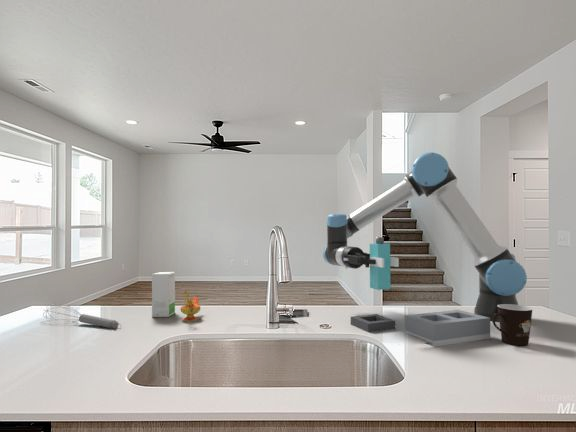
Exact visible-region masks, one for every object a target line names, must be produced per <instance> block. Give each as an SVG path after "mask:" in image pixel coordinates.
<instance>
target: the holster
mask: <svg viewBox="0 0 576 432" xmlns="http://www.w3.org/2000/svg"><path fill="white" fill-rule="evenodd" d="M350 325H351V326H352V327H353V326H354V327H355V328H358V329H360V330H362V331H364V332H366V333H372V332H373V333H374V332H375V333H376V332H381V331H390V330H391V331H392V330H396V320H394V319H391V318H389V317H386V316H383V315H380V314H378V313H374V314H365V315H364V314H362V315H354V316H350Z"/></svg>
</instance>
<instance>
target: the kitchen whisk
mask: <svg viewBox="0 0 576 432" xmlns="http://www.w3.org/2000/svg"><path fill="white" fill-rule="evenodd" d="M57 304H60V305H63V306H60V305H57ZM54 305H55V307H52V308H50V307H49V306H54ZM64 306H67V307H64ZM57 307H58V308H62V309H65V310H67V311H69V312H72V313H74V314H76V315H79V316H75V315H70V314H66V313H61V312H56V311H51V310H52V309H54V308H55V309H56V308H57ZM49 312H51V313H56V314H58V315H64V316H69V317H74V318H72V319H62V318H61V319H60V318H56V319H57V320H56V321H59V320H60V321H61V320H63V321H73V323H74V322H80V323H84V324H87V325H88V324H89V325H91V326H92V325H94V326H98V327H101V326H102V328H106V329H111V328H112V329H114V330H115V329H117V328H118V327H119V325H120V328H119V329H121V327H122V324H120V323H119V322H118V320H115V319H109V318H105V317H100V316H95V315H89V314H84V313H80V312H79V311H77V310H76V309H75V308H73V307H71V306H69V305H68V304H67V305H66V304H64V303H61V302H59V303H58V302H54V303H52V304H47V306H46V309H44V312H43V314H42V317H45V318H46V319H48V320H52V319H54V317H52V316H51V315H50V313H49ZM47 313H48V315H49V316H51V318H50V317H48V316H47ZM44 314H45V315H44ZM75 318H78V319H75Z"/></svg>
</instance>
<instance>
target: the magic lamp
mask: <svg viewBox="0 0 576 432" xmlns="http://www.w3.org/2000/svg"><path fill="white" fill-rule="evenodd" d="M183 293H184V295H185V298H184V305H183V306H180V312H181V313H182V314H184V315H185V316H186V317H185V318H182V321H185V322H192V321H193V322H194V321H197V320H199V318H198V317H196V316H195V315H196V314H198V313H199V312H200V310H201V305H199V304H200V303H199V301H200V295H199V294H196V295H194V297H193V298H192V299H191V298H189V297H190V294H189V291H188V290H185V291H184V292H183Z"/></svg>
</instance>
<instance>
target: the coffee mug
mask: <svg viewBox="0 0 576 432" xmlns="http://www.w3.org/2000/svg"><path fill="white" fill-rule="evenodd" d="M497 308H498V313H497V314H495V315H494V316H493V320H492V325H493V326H494V327H495V329H497V330H498V331H499V332H500V335H501V342H502V343H503V344H505V345H508V346H514V347H528V346H529V342H530V341H529V340H530V333H531V324H532V317H533V316H532V315H533V308H532V307H531V306H527V305H519V304H518V305H512V304H501V305H497ZM498 315H499V321H498V322H499V326H498V325H497V323H496V321H495V318H496V317H497V316H498Z"/></svg>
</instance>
